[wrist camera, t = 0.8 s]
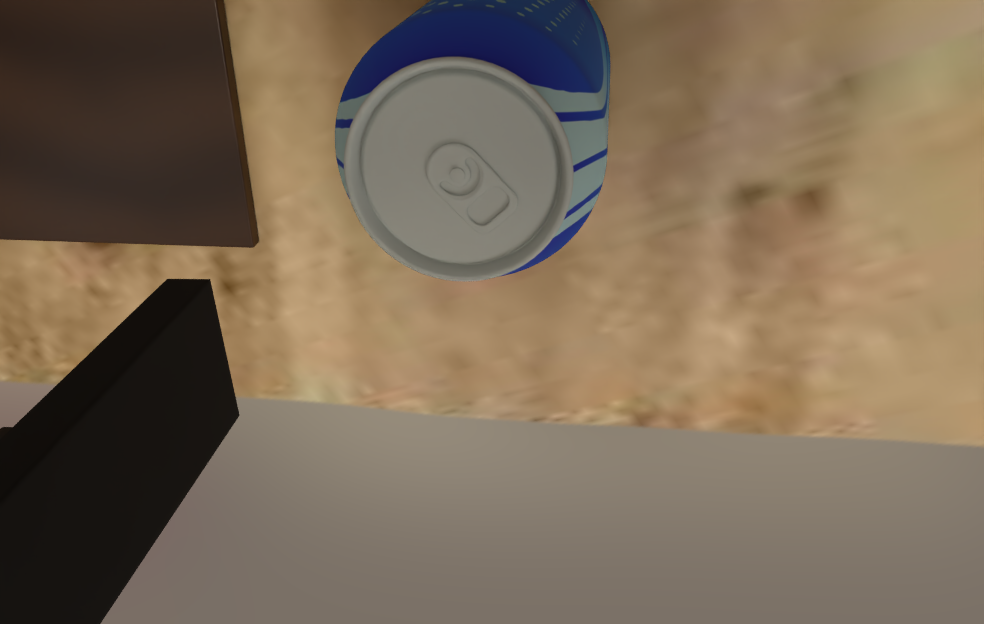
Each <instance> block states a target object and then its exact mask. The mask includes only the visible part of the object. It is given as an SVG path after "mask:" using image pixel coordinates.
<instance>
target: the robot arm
mask: <svg viewBox="0 0 984 624" xmlns="http://www.w3.org/2000/svg"><path fill="white" fill-rule="evenodd" d="M238 417H239V411H238V407H237V402H236V397H235V393H234V388H233V383H232V379H231V374H230V370H229V365H228V360H227V356H226V351H225V346H224V342H223V337H222V333H221V328H220V323H219V319H218V314H217V309H216V305H215V300H214V296H213V291H212V286H211V282H210V279H167V280H166V281H165V282H164V283H163V284H162V285H161V286H159V287H158V288H157V289H156V290H155V291H154V292H153V293H152V294H151V295H150V296H149V297H148V298H147V299H146V300H145V301H144V302H143V303H142V304H141V305H140V306H139V307H138V308H137V309H136V310H134V311H133V312H132V313H131V314H130V315H129V316H128V317H127V318H126V319H125V320H124V321H123V322H122V323H121V324H120V325H119V326H118V327H117V328H116V329H115V330H114V331H113V332H112V333H111V334H109V335H108V336H107V337H106V338H105V339H104V340H103V341H102V342H101V343H100V344H99V345H98V346H97V347H96V348H95V349H94V350H93V351H92V352H91V353H90V354H89V355H88V356H87V357H86V358H84V359H83V360H82V361H81V362H80V363H79V364H78V365H77V366H76V367H75V368H74V369H73V370H72V371H71V372H70V373H69V374H68V375H67V376H66V377H65V378H64V379H63V380H62V381H60V382H59V383H58V384H57V385H56V386H55V387H54V388H53V389H52V390H51V391H50V392H49V393H48V394H47V395H46V396H45V397H44V398H43V399H42V400H41V401H40V402H39V403H38V404H37V405H35V407H33V408H32V409H31V410H30V411H29V412H28V413H27V414H26V415H25V416H24V417H23V418H22V419H21V420H20V421H19V422H18V423H17V424H16V425H15V426H14V427H3V428H1V429H0V624H100V623H101V622H102V620H103V619H104V617H105V616H106V614H107V613H108V611H109V610H110V608H111V607H112V605H113V604H114V602H115V601H116V599H117V598H118V596H119V595H120V593H121V592H122V590H123V589H124V587H125V586H126V584H127V583H128V581H129V580H130V578H131V577H132V575H133V574H134V572H135V571H136V569H137V568H138V566H139V565H140V563H141V562H142V560H143V559H144V557H145V556H146V554H147V553H148V551H149V550H150V548H151V547H152V545H153V544H154V542H155V541H156V539H157V538H158V537H159V535H160V534H161V532H162V531H163V529H164V528H165V526H166V525H167V523H168V522H169V520H170V518H171V517H172V516H173V514H174V512H175V511H176V510H177V508H178V507H179V505H180V504H181V502H182V501H183V499H184V498H185V496H186V495H187V493H188V492H189V490H190V489H191V487H192V486H193V484H194V483H195V481H196V479H197V478H198V476H199V475H200V474H201V472H202V470H203V469H204V468H205V466H206V465H207V463H208V462H209V460H210V459H211V457H212V456H213V454H214V453H215V451H216V449H217V448H218V447H219V445H220V444H221V442H222V440H223V439H224V437H225V436H226V435H227V433H228V432H229V430H230V429H231V427H232V426H233V424H234V423H235V421H236V419H237V418H238Z"/></svg>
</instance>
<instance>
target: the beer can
mask: <svg viewBox="0 0 984 624" xmlns="http://www.w3.org/2000/svg"><path fill="white" fill-rule="evenodd" d="M609 90H610V52H609V46H608V42H607V38H606V34H605V31H604V29H603V26H602V24H601V22H600V20H599V18H598V16H597V14H596V12H595V11H594V9H593V7H592V6H591V5H590V3H589V2H588V1H587V0H431V1H429V2H428V3H427V4H425V5H424V6H423V7H421V8H420V9H419V10H417V11H416V12H415V13H413V14H412V15H411V16H410V17H408V18H407V19H406V20H404V21H403V22H402V23H400V24H399V25H398V26H396V27H395V28H394V29H392V30H391V31H390V32H388V33H387V34H386V35H385V36H383V37H382V38H381V39H380V40H379V41H377V42H376V43H375V44H374V45H373V46H372V47H371V48H370V49H369V50H368V52H367V53H366V54H365V55H364V56H363V57H362V59H361V60H360V62H359V63H358V65H357V66H356V67H355V69H354V71H353V73H352V74H351V76H350V78H349V80H348V82H347V84H346V86H345V89H344V91H343V94H342V97H341V100H340V103H339V107H338V112H337V117H336V126H335V149H336V158H337V163H338V168H339V172H340V176H341V179H342V182H343V185H344V188H345V190H346V193H347V195H348V197H349V199H350V201H351V204H352V206H353V209H354V211H355V213H356V215H357V217H358V219H359V221H360V222H361V224H362V225H363V227H364V228H365V230H366V231H367V232H368V234H369V235H370V236H371V238H372V239H373V240H374V241H375V242H376V243H377V244H378V245H379V246H380V247H381V248H382V249H383V250H384V251H385V252H386V253H388V254H389V255H390V256H392V257H393V258H394V259H395V260H397V261H399V262H400V263H402V264H403V265H405V266H407V267H409V268H411V269H413V270H415V271H417V272H420V273H422V274H425V275H428V276H431V277H434V278H439V279H444V280H450V281H479V280H486V279H491V278H495V277H498V276H504V275H508V274H512V273H516V272H518V271H521V270H524V269H527V268H529V267H531V266H533V265H535V264H538V263H540V262H541V261H543V260H545V259H546V258H548V257H550V256H551V255H553V254H554V253H555V252H557V251H558V250H559V249H561V248H562V247H563V246H564V245H565V244H566V243H567V242H569V240H570V239H571V238H572V237H573V236H574V235H575V234H576V233H577V232H578V230H579V229H580V228H581V226H582V225H583V224H584V222H585V221H586V219H587V218H588V216H589V214H590V213H591V211H592V209H593V207H594V205H595V203H596V201H597V198H598V196H599V193H600V190H601V187H602V184H603V180H604V176H605V171H606V163H607V146H608V118H609Z"/></svg>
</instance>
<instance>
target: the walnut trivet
mask: <svg viewBox="0 0 984 624" xmlns="http://www.w3.org/2000/svg"><path fill="white" fill-rule="evenodd" d="M0 239H6V240H37V241H67V242H97V243H128V244H158V245H188V246H219V247H249V248H253V247H254V246H255V245H256V244H257V243H258V234H257V227H256V220H255V214H254V207H253V200H252V193H251V187H250V180H249V173H248V166H247V159H246V153H245V146H244V139H243V132H242V126H241V119H240V112H239V105H238V98H237V92H236V85H235V78H234V71H233V64H232V58H231V51H230V44H229V37H228V31H227V24H226V17H225V10H224V3H223V0H0Z"/></svg>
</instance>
